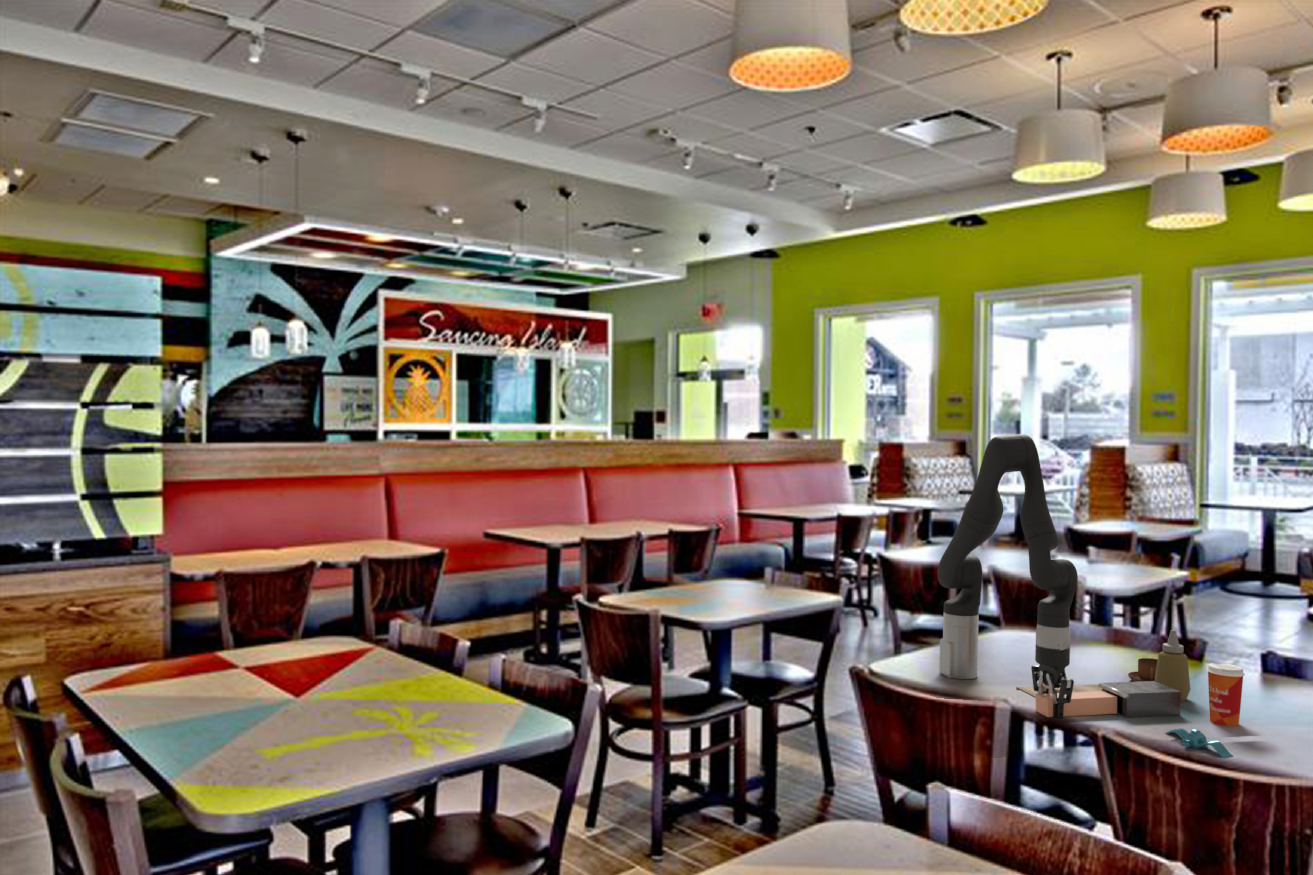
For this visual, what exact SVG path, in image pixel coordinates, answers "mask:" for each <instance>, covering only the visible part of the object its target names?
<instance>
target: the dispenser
mask: <svg viewBox="0 0 1313 875" xmlns="http://www.w3.org/2000/svg"><path fill="white" fill-rule="evenodd" d="M1097 684H1098V686H1099V687H1100V688H1102V691H1105V692H1107V693H1110V694H1112V695H1114V696H1117V715H1119V716H1123V717H1124V718H1127V719H1135V718H1137V719H1138V718H1160V717H1181V716H1182V715H1181V701H1180V700H1181V692H1180V691H1178V690H1175V689H1173V688H1170V687H1167V686H1165V685H1162V684H1160V683H1157V682H1155V681H1142V682H1135V681H1119V682H1118V681H1117V682H1116V681H1115V682H1114V681H1113V682H1099V683H1097Z"/></svg>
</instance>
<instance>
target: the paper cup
mask: <svg viewBox="0 0 1313 875" xmlns="http://www.w3.org/2000/svg"><path fill="white" fill-rule="evenodd" d="M1205 671H1207V684H1208V708H1209V709H1208V710H1209V721H1210V722H1211V723H1212V724H1216V725H1219V726H1222V727H1223V726H1224V727H1238V726H1239V725H1240V716H1241V705H1242V694H1243V682H1244V676H1245V675H1246V674H1245V672H1244V669H1243V667H1241V666H1238V665H1236V664H1231V663H1230V664H1229V663H1223V662H1221V663H1218V662H1217V663H1216V662H1215V663H1212V662H1211V663H1209V664H1208V667H1207V668H1206V670H1205Z"/></svg>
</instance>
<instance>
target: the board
mask: <svg viewBox="0 0 1313 875" xmlns="http://www.w3.org/2000/svg"><path fill="white" fill-rule="evenodd" d="M1098 684H1099V683H1095V684H1074V685H1073V691H1072V692H1091V691H1102V688H1100V687H1099V686H1098ZM1015 688H1016V691H1022V692H1024V693H1025V694H1028V695H1029V696H1031V697H1033V698H1035V699H1036V694H1038V692H1037V691H1034V688H1033V685H1032V686H1016V687H1015ZM1045 689H1046V688H1045ZM1054 689H1055V690H1060V688H1054Z"/></svg>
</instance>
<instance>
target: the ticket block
mask: <svg viewBox="0 0 1313 875" xmlns="http://www.w3.org/2000/svg"><path fill="white" fill-rule="evenodd" d="M1057 697H1059V693H1057ZM1065 698H1066V695H1065ZM1053 703H1054V701H1053V696H1052V694H1051V693H1049V694H1036V698H1035V711H1036V712H1037V713H1039V714H1041V715H1042V716H1045V717H1046V718H1054V717H1053ZM1063 712H1064V713H1063V717H1075V716H1076V717H1077V716H1080V717H1081V716H1096V715H1097V716H1098V715H1112V714H1113V715H1114V714H1115V715H1116V714H1117V715H1118V713H1117V696H1114V695H1112V694H1110V693H1107V692H1105V691H1091V692H1072V696H1071V702H1070V703H1065V704H1064V711H1063Z"/></svg>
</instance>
